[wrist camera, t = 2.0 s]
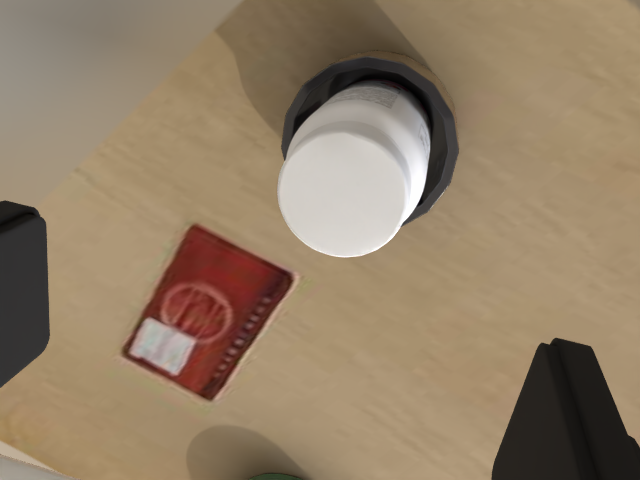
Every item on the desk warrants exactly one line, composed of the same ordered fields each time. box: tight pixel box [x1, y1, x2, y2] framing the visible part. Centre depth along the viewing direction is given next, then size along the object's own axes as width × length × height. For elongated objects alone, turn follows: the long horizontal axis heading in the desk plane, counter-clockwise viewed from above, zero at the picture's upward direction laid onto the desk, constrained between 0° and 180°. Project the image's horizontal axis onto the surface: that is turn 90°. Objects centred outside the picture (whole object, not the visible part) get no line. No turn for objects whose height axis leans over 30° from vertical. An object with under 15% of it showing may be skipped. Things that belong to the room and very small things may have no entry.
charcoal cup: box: [281, 50, 459, 227], centre depth 24 cm, size 7×7×3 cm
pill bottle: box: [277, 79, 432, 257], centre depth 21 cm, size 5×5×8 cm
